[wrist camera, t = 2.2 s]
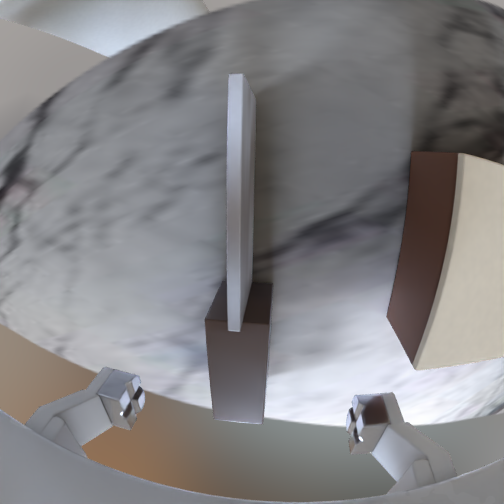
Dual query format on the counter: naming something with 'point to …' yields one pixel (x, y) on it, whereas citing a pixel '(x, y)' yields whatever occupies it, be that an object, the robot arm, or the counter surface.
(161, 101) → the counter surface
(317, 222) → the counter surface
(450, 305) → the cake
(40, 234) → the counter surface
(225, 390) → the knife
